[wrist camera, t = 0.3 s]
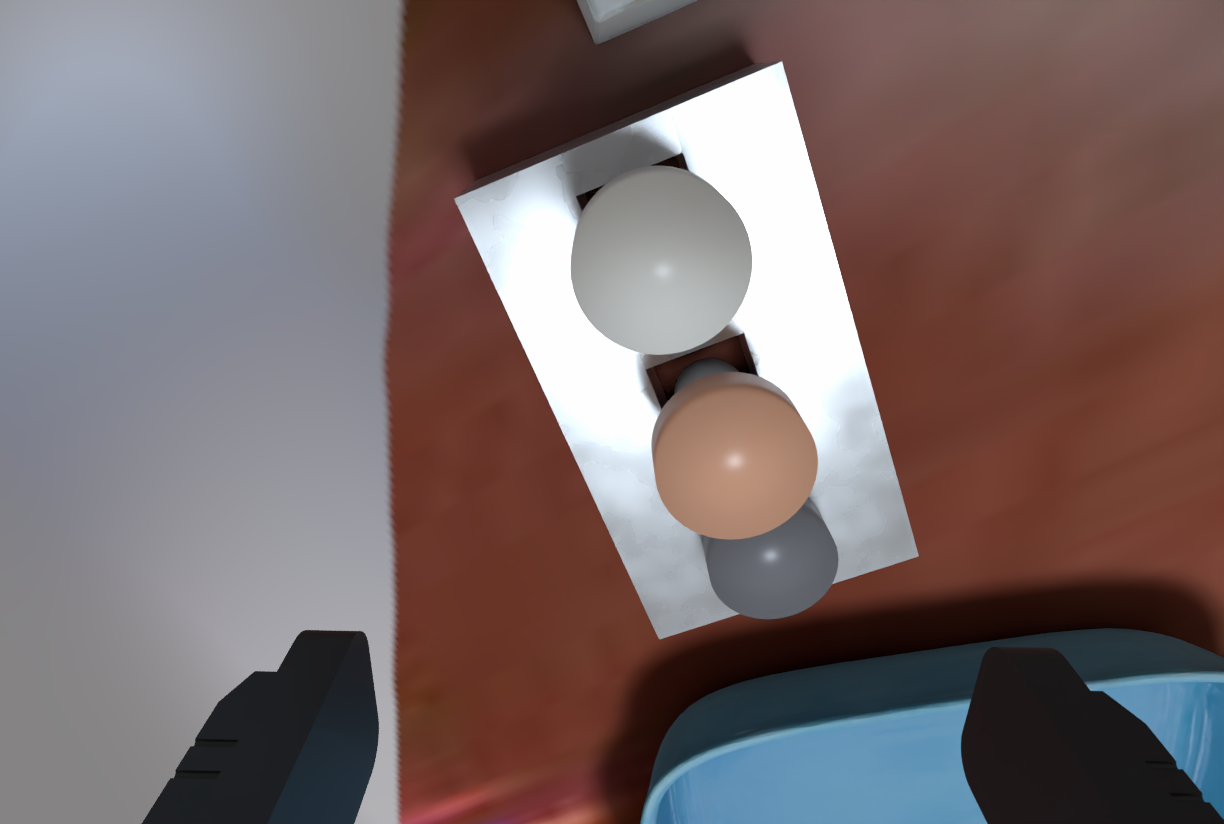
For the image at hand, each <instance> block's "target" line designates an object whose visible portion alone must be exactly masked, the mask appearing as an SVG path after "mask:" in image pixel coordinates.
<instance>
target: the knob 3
mask: <svg viewBox="0 0 1224 824" xmlns="http://www.w3.org/2000/svg"><path fill="white" fill-rule="evenodd" d="M703 550H704V555H705V560H706V565H707V569H708V574H709V578H710V582H711V585H712V588H713V590H714V592H715V594H716V595H717V596H718V598H719V599H720V600H721V601H722V602H723V603H724V604H725V605H726V606H728V607H729V608H730V609H732V610H734V611H735V612H737V613H740V614H742V615H744V616H748V617H752V618H757V619H778V618H784V617H788V616H792V615H794V614H797V613H799V612H801V611H803V610H805V609H807V608H809V607H810V606H812V605H813V604H815V603H816V602H817V601H818V600H820V599H821V598H822V597H823V596H824V594H825V593H826V592H827V591H828V589H829V588H830V586H831V585H832V583H833V581H834V579H835V576H836V573H837V569H838V561H839V560H838V551H837V547H836V544H835V542H834V539H833V537H832V535H831V533H830V531H829V529H828V528H827V526H826V524H825V522H824V520H823V518H822V516H821V514H820V512H819V510H818V509H817V507H816V506H815V505H814V504H813V502H811V501H810V500H809V499H808V498H807V500H806V501H805V503H804V504H803V505H802V507H801V508H800V509H799V510H798V511H797V512H796V513H795V514H794V515H793V516H792V517H791V518H790V519H788V520H787V521H786V522H784V523H783V524H781V525H780V526H778V527H776V528H775V529H773V530H771V531H769V532H766V533H763V534H761V535H758V536H754V537H750V538H744V539H732V540H729V539H717V538H712V537H708V536H704V535H703Z"/></svg>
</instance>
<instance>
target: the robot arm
mask: <svg viewBox="0 0 1224 824" xmlns="http://www.w3.org/2000/svg"><path fill="white" fill-rule="evenodd" d="M378 734H379V722H378V713H377V705H376V698H375V691H374V683H373V675H372V668H371V661H370V653H369V645H368V640H367V637H366V635H365V633H363V632H361V631H319V630H305V631H302V632H301V633H300V634H299V635H298V636H297V638H296V639H295V641H294V643H293V645H292V646H291V648H290V650H289V651H288V653H287V655H286V657H285V658H284V660H283V662H282V664H281V666H280V667H279V669H278V671H277V672H260V671H259V672H258V671H255V672H254V673H253V674H251V675H250V676H249V677H248V678H247V679H245V680H244V681H243V682H242V683H241V684H239V685H238V686H237V687H236V688H235V689H234V690H232V691H231V692H230V693H229V694H228V695H226V696H225V697H224V698H223V699H222V700H221V701H219V702H218V704H217V706H216V707H215V709H214V710H213V712H212V714H211V715H210V716H209V718H208V720H207V721H206V723H205V724H204V726H203V728H202V729H201V731H200V732H199V734H198V735H197V737H196V739H195V745H194V746H192V747H190V748H189V750H188V751H187V753H186V754H185V756H184V758H183V759H182V761H181V762H180V764H179V766H178V767H177V769H176V774H175V777H174V778H171V779H170V780H169V781H168V783H167V785H166V786H165V788H164V789H163V791H162V793H161V794H160V796H159V797H158V799H157V801H156V802H155V804H154V805H153V807H152V808H151V810H150V812H149V813H148V815H147V816H146V818H145V819H144V821H143V823H142V824H354V822H355V820H356V817H357V814H358V811H359V808H360V805H361V802H362V800H363V796H364V794H365V791H366V788H367V785H368V782H369V779H370V777H371V774H372V770H373V767H374V762H375V758H376V752H377V746H378ZM961 758H962V764H963V769H964V773H965V777H966V780H967V783H968V785H969V787H970V790H971V792H972V794H973V796H974V798H975V800H976V802H977V804H978V806H979V808H980V810H981V812H982V814H983V816H984V818H985V820H986V822H987V824H1224V819H1223V818H1222V817H1221V816H1220V814H1219V813H1218V812H1217V811H1216V810H1215V808H1214V807H1213V806H1212V805H1211V803H1210V802H1205V801H1204V800H1203V797H1202V795H1203V794H1202V792H1201V791H1200V790H1199V789H1198V787H1197V786H1196V785H1195V784H1194V782H1193V781H1192V780H1191V779H1190V778H1189V776H1188V775H1187V774H1186V773H1185V771H1184V770H1183V769H1178V768H1177V765H1176V760H1175V759H1174V758H1173V757H1172V755H1171V754H1170V753H1169V752H1168V750H1167V749H1166V748H1165V747H1164V746H1163V744H1162V743H1161V742H1160V741H1159V739H1158V738H1157V737H1156V736H1155V734H1154V733H1153V732H1152V731H1151V729H1150V728H1149V727H1148V726H1147V725H1146V723H1144V722H1143V721H1142V720H1140V719H1139V718H1138V717H1136V716H1135V715H1134V714H1132V713H1131V712H1130V711H1129V710H1127V709H1126V708H1125V707H1123V706H1122V705H1121V704H1119V703H1118V702H1117V701H1115V700H1114V699H1113V698H1111V697H1110V696H1109V695H1107V694H1106V693H1105V692H1104V691H1090V689H1089V688H1088V687H1087V685H1086V684H1085V683H1084V681H1083V680H1082V679H1081V678H1080V676H1079V675H1078V674H1077V672H1076V671H1075V670H1074V668H1073V667H1072V666H1071V664H1070V663H1069V662H1068V661H1067V659H1066V658H1065V657H1064V656H1063V655H1062V654H1061V653H1060V652H1059V651H1058V650H1056V649H1054V648H1039V647H991V648H989V649H988V650H987V651H986V652H985V654H984V656H983V659H982V662H981V666H980V669H979V673H978V676H977V680H976V684H975V687H974V691H973V695H972V698H971V702H970V706H969V709H968V713H967V716H966V720H965V724H964V727H963V731H962V736H961Z"/></svg>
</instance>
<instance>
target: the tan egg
mask: <svg viewBox="0 0 1224 824" xmlns="http://www.w3.org/2000/svg"><path fill="white" fill-rule="evenodd" d="M651 451H652V458H653V466H654V473H655V480H656V485H657V490H658V493H659V496H660V498H661V500H662V502H663V504H664V506H665V507H666V508H667V510H668V511H669V513H670V514H671V515H672V516H673V517H674V518H675V519H676V520H677V521H679V522H680V523H681V524H682V525H684V526H685V527H687V528H689V529H690V530H692V531H694V532H696V533H699V534H701V535H704V536H708V537H712V538H717V539H729V540H732V539H744V538H750V537H754V536H758V535H761V534H763V533H766V532H769V531H771V530H773V529H775V528H776V527H778V526H780V525H781V524H783V523H784V522H786V521H787V520H788V519H790V518H791V517H792V516H793V515H794V514H795V513H796V512H797V511H798V510H799V509H800V508H801V507H802V505H803V504H804V503H805V501H806V500H807V498H808V496H809V494H810V493H811V491H812V488H813V486H814V483H815V480H816V475H817V470H818V455H817V449H816V445H815V442H814V439H813V437H812V434H811V432H810V431H809V429H808V427H807V426H806V424H805V422H804V421H803V419H802V417H801V415H800V414H799V412H798V410H797V409H796V407H795V405H794V404H793V402H792V400H791V399H790V398H789V397H788V396H787V394H786V393H785V392H783V391H782V390H781V389H780V388H779V387H778V386H776V385H775V384H773V383H772V382H770V381H768V380H766V379H764V378H762V377H759V376H756V375H752V374H747V373H741V372H739V371H738V370H737V369H736V368H735V367H734V366H733V365H731V364H730V363H728V362H726V361H724V360H721V359H716V358H706V359H701V360H698V361H696V362H693V363H692V364H690V365H689V366H687V367H686V368H685V369H684V370H683V371H682V372H681V374H680V375H679V377H678V378H677V381H676V384H675V388H674V395H673V396H672V397H671V398H670V399H669V401H668V402H667V403H666V404H665V406H664V407H663V408H662V410H661V412H660V414H659V415H658V417H657V420H656V422H655V425H654V429H653V432H652V440H651Z"/></svg>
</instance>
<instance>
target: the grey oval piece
mask: <svg viewBox="0 0 1224 824" xmlns="http://www.w3.org/2000/svg"><path fill="white" fill-rule="evenodd" d="M752 264H753V256H752V247H751V242H750V238H749V234H748V232H747V229H746V227H745V224H744V222H743V221H742V219H741V217H740V215H739V213H738V212H737V211H736V209H735V208H734V207H733V205H732V204H731V203H730V202H729V201H728V200H727V199H726V198H725V197H724V196H723V195H722V194H721V193H720V192H719V191H718V190H717V189H716V188H715V187H714V186H713V185H712V184H710V183H709V182H707V181H706V180H705V179H703V178H702V177H700V176H698V175H696V174H694V173H692V172H689V171H687V170H684V169H680V168H676V167H672V166H647V167H642V168H637V169H634V170H631V171H628V172H625V173H623V174H621V175H619V176H617V177H615V178H614V179H612V180H611V181H609V182H608V183H606V184H605V185H604V186H603V187H602V188H601V189H600V190H598V191H597V193H596V194H595V195H594V196H593V197H592V198H591V199H590V201H589V202H588V204H587V205H586V207H585V208H584V210H583V212H582V214H581V216H580V218H579V220H578V223H577V226H576V229H575V234H574V239H573V245H572V251H571V260H570V274H571V282H572V287H573V291H574V294H575V297H576V300H577V302H578V304H579V306H580V308H581V310H582V312H583V313H584V315H585V316H586V318H587V319H588V321H589V322H590V323H591V324H592V325H593V326H594V328H595V329H596V330H597V331H599V332H600V333H601V334H602V335H603V336H604V337H606V338H607V339H609V340H610V341H612V342H613V343H615V344H617V345H619V346H621V347H623V348H626V349H629V350H632V351H635V352H639V353H644V354H654V355H663V354H673V353H679V352H683V351H686V350H689V349H692V348H694V347H697V346H699V345H701V344H703V343H705V342H706V341H708V340H710V339H711V338H713V337H714V336H715V335H717V334H718V333H719V332H720V331H722V330H723V329H724V328H725V327H726V326H727V325H728V324H729V323H730V321H731V320H732V319H733V317H734V316H735V315H736V314H737V312H738V310H739V308H740V307H741V305H742V303H743V301H744V299H745V297H746V294H747V292H748V288H749V285H750V281H751V275H752Z"/></svg>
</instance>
